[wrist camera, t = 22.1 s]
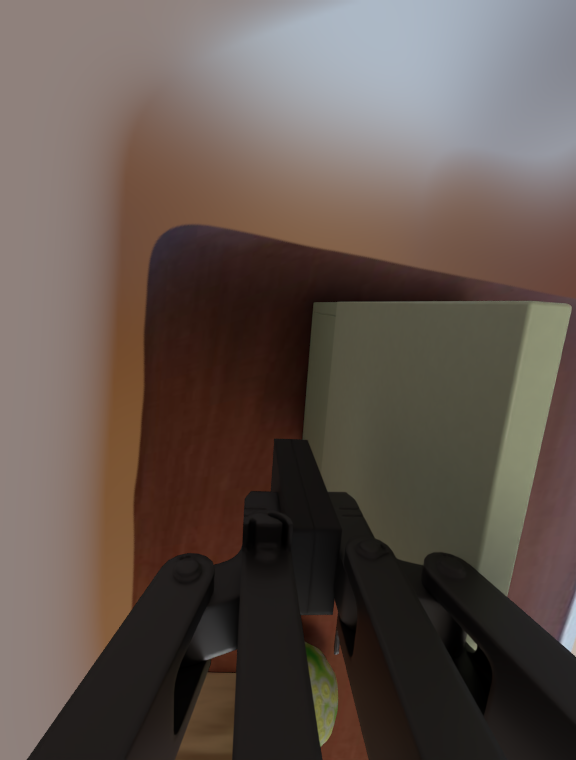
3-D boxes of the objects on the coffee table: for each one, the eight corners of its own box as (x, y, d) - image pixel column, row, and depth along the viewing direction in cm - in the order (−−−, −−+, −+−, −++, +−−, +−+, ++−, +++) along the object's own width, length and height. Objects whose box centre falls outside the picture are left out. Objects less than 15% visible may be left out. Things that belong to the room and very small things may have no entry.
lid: (575, 303, 7) (530, 300, 7) (456, 827, 11) (424, 830, 10) (351, 302, 24) (336, 301, 24) (330, 506, 27) (317, 506, 27)
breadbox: (463, 312, 38) (557, 317, 26) (441, 447, 41) (516, 505, 29) (313, 302, 36) (342, 302, 24) (301, 443, 39) (322, 502, 28)
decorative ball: (262, 611, 43) (265, 701, 34) (339, 626, 45) (363, 716, 35) (239, 677, 45) (235, 780, 35) (313, 689, 46) (330, 791, 37)
